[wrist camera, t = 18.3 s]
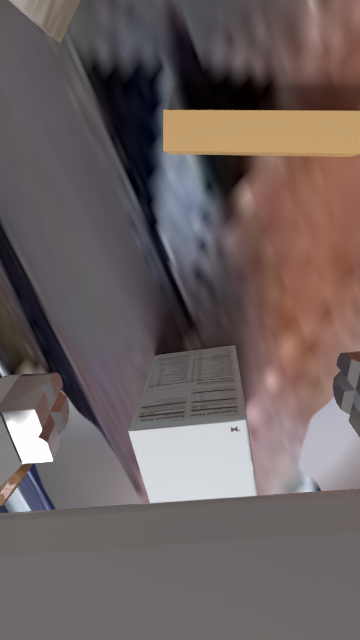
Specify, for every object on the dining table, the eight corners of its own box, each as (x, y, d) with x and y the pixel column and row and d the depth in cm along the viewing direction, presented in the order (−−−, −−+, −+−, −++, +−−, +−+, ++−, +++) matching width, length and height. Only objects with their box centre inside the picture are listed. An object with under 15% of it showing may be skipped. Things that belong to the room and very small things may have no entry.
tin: (39, 423, 59) (13, 458, 51) (54, 432, 59) (31, 468, 51) (6, 470, 64) (-22, 508, 56) (20, 477, 64) (-6, 517, 57)
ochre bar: (355, 118, 38) (371, 110, 34) (348, 156, 39) (362, 153, 35) (168, 117, 39) (163, 109, 36) (167, 154, 41) (163, 150, 37)
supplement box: (152, 353, 51) (125, 429, 35) (236, 343, 49) (248, 418, 33) (169, 421, 56) (151, 515, 40) (245, 414, 54) (260, 510, 38)
